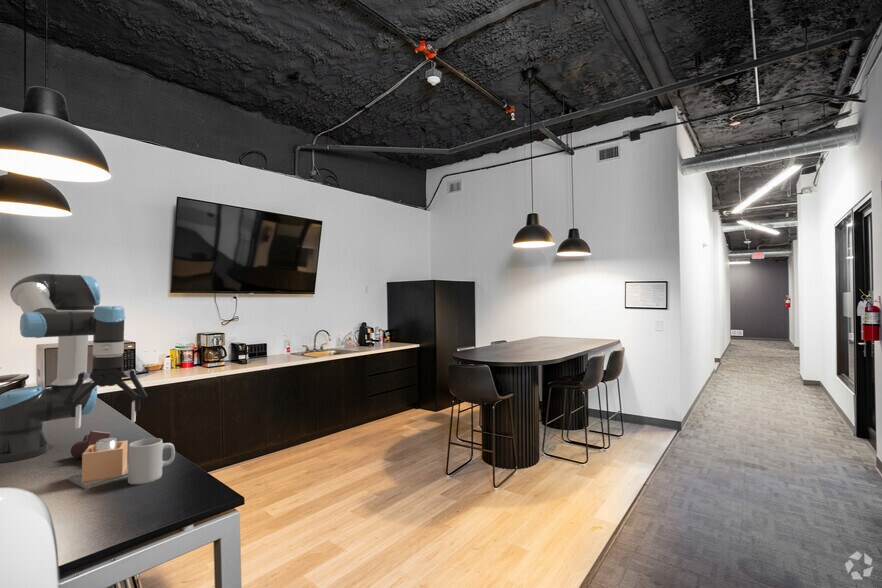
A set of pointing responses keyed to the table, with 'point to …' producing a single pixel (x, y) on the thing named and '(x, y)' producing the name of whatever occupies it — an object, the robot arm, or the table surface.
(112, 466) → the tan wooden box
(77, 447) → the bracket
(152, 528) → the table surface
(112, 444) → the duct flange
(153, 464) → the mug
